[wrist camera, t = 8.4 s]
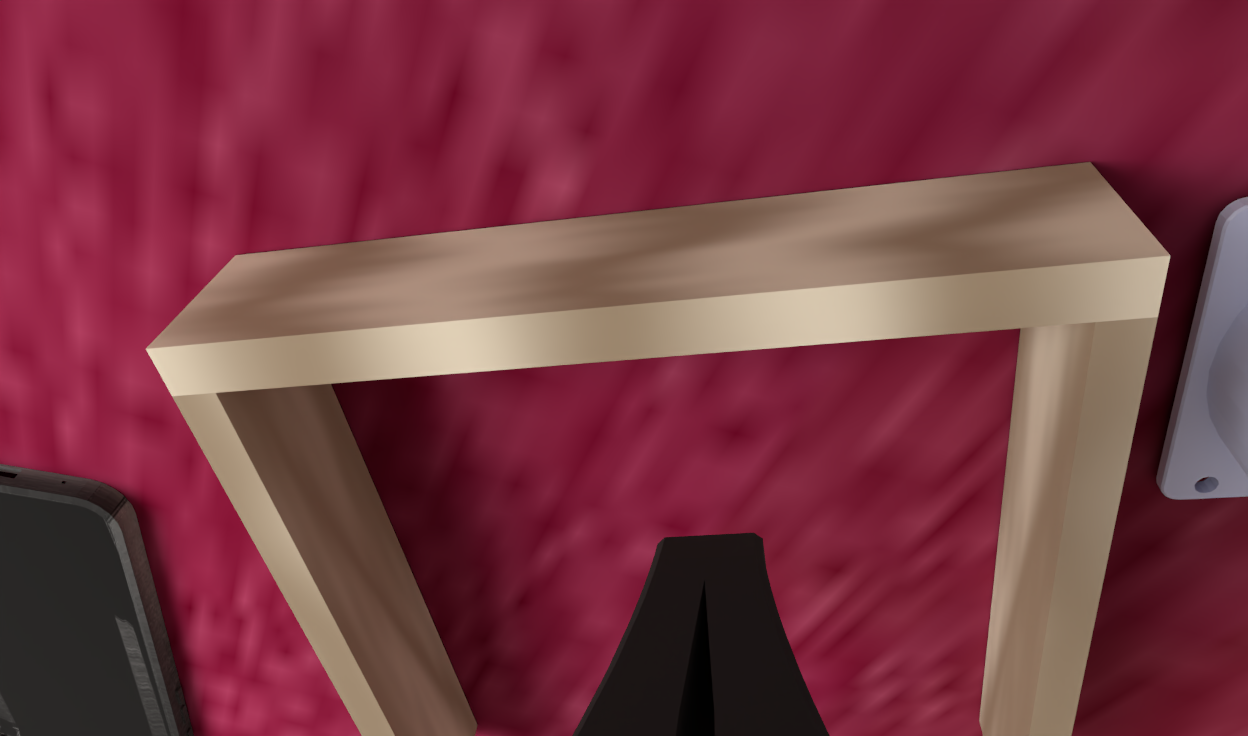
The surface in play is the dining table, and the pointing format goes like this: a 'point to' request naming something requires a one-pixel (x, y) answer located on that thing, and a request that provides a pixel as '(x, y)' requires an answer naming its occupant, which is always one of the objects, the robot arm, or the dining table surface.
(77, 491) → the phone
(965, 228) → the wooden frame
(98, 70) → the dining table surface
